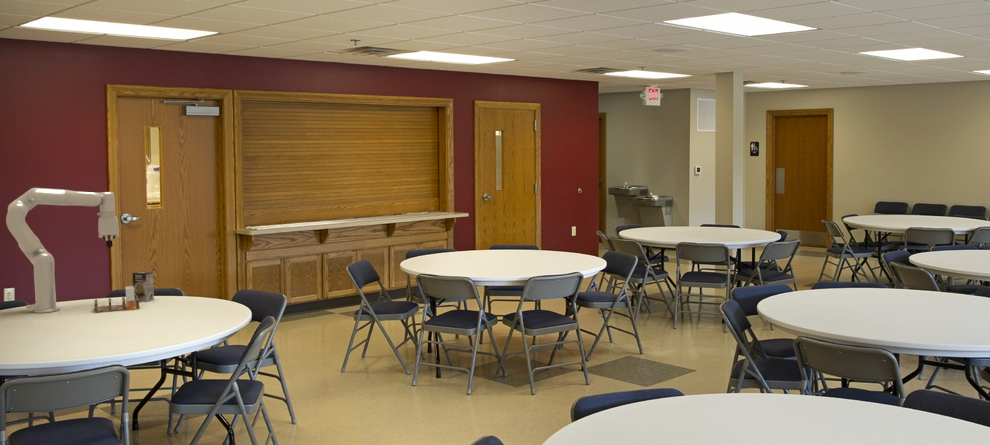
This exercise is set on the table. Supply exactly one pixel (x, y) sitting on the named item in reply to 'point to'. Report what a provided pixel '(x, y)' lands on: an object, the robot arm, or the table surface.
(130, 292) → the panel
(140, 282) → the coffee box
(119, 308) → the rack
